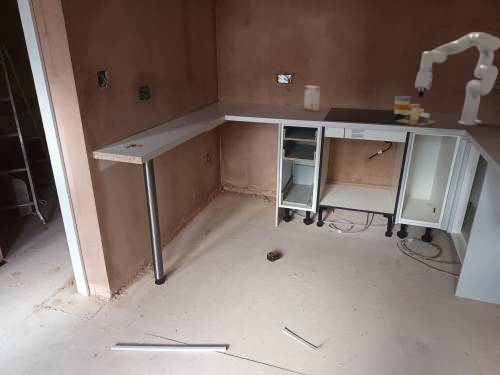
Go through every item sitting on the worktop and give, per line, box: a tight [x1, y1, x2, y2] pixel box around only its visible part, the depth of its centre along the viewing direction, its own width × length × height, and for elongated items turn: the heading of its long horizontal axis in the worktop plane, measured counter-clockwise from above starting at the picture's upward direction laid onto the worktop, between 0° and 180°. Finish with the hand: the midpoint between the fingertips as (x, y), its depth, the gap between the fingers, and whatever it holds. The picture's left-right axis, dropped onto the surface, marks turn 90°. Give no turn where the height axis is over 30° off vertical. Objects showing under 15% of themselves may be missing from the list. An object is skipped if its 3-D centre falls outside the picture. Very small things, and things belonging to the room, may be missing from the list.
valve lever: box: [409, 103, 421, 109], centre depth 279 cm, size 11×3×4 cm, turn 126°
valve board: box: [395, 115, 436, 128], centre depth 285 cm, size 20×20×4 cm
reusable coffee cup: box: [393, 95, 412, 115], centre depth 312 cm, size 13×13×15 cm
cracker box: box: [303, 84, 321, 112], centre depth 333 cm, size 14×6×21 cm, turn 30°
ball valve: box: [405, 107, 431, 122], centre depth 284 cm, size 18×6×9 cm, turn 36°
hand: (420, 96), depth 269 cm, fingers closed
